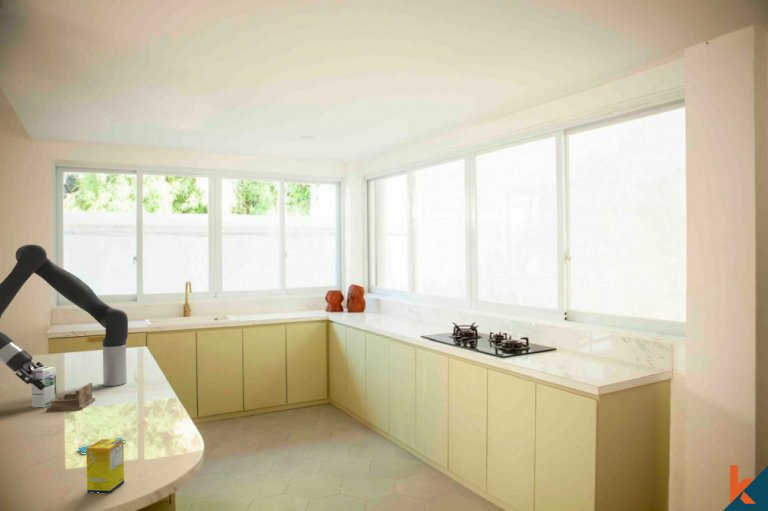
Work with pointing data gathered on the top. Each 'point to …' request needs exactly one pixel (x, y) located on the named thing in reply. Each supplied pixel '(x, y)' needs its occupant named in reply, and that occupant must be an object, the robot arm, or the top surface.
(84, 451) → the sponge
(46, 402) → the syrup box
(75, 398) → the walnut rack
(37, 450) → the top surface
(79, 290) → the robot arm
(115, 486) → the supplement box
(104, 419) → the top surface
